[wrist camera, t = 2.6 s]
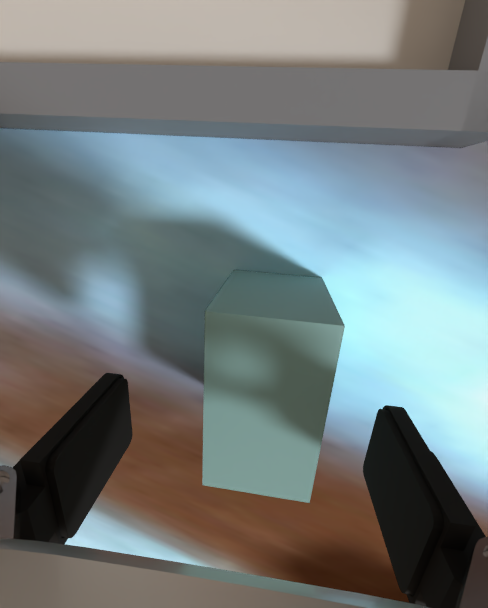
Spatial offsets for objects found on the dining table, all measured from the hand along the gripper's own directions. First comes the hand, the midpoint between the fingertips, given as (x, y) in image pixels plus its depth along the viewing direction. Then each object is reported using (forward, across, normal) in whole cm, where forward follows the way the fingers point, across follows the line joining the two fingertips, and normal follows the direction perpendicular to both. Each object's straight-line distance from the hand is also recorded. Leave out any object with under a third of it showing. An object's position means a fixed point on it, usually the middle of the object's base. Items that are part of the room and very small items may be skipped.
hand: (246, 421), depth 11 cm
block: (+6, -1, 0) cm, 6 cm away
